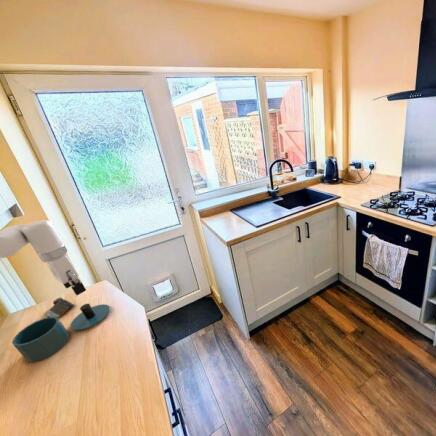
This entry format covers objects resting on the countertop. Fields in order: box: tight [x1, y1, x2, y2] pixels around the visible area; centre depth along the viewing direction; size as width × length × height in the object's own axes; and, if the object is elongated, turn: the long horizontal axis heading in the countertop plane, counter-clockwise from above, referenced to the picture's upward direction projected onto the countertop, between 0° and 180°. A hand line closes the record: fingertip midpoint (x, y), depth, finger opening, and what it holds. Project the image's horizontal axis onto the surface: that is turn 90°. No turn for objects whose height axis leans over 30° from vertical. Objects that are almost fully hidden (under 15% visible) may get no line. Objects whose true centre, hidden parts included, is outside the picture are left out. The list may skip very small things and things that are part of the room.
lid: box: [70, 303, 111, 332], centre depth 101 cm, size 13×13×7 cm
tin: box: [11, 316, 70, 363], centre depth 90 cm, size 12×12×8 cm
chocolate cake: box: [45, 296, 75, 318], centre depth 107 cm, size 10×7×12 cm
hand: (76, 289), depth 97 cm, fingers open, 9 cm apart
